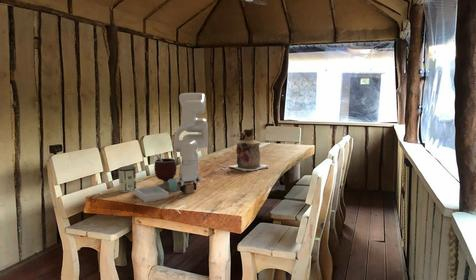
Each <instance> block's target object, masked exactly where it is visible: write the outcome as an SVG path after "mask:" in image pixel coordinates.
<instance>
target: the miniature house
mask: <svg viewBox="0 0 476 280" xmlns="http://www.w3.org/2000/svg"><path fill="white" fill-rule="evenodd" d="M136 168H137V167H136V166H132V165H128V166H126V165H125V166H120V167H118V168H117V169H118V181H119V191H120V192H122V193H129V192H130V193H131V192H135V190H134V189H137V174H136V172H137V171H136Z"/></svg>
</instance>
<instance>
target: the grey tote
mask: <svg viewBox="0 0 476 280" xmlns="http://www.w3.org/2000/svg"><path fill="white" fill-rule="evenodd" d="M134 190H135V191H134V195H135V197H137V198H139V199H140V200H141V201H143V202H144V203H148V202H153V201H160V200H165V199H169V198H170V197H169V196H170V195H169V193H170V191H167V190H165V189H162V188H160V187H159V186H156V185H152V186H144V187H138V188H137V187H136V189H134Z"/></svg>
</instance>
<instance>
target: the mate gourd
mask: <svg viewBox="0 0 476 280" xmlns="http://www.w3.org/2000/svg"><path fill="white" fill-rule="evenodd" d="M155 157H156V158H157V159H155V160H154V174H155V176H156V178H157V179H158V180H161V181H163V182H162V183H158V184H156V185H155V186H159V187H160V188H163V189H164V190H165V189H169V179H172V178H175V176H176V175H177V161H176V159H175V158H168V157H167V158H165V157H164V158H162V157H161V155H158V154H155Z"/></svg>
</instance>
